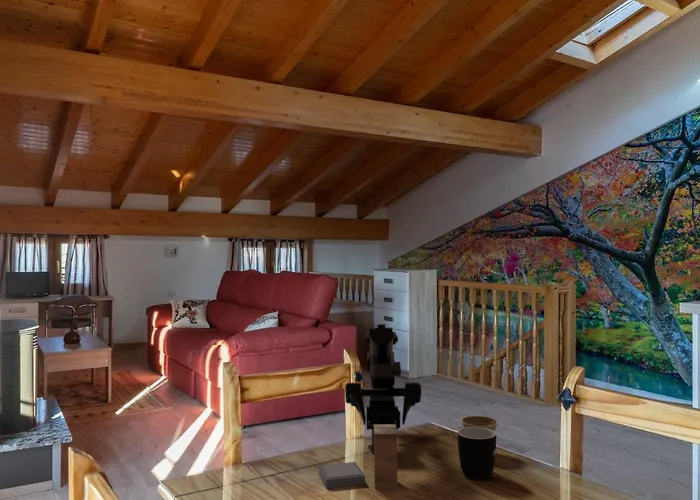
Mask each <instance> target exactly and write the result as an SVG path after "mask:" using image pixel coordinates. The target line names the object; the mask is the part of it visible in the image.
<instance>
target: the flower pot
mask: <svg viewBox="0 0 700 500" xmlns="http://www.w3.org/2000/svg"><path fill="white" fill-rule="evenodd" d="M461 423H462V427H463V428H467V427H480V428H486V429H490V430H492V431H494V432H495V433H496V429H497V426H498V424H499V421H498V420H497V419H495V418H493V417H490V416H482V415H468V416H465V417H462V418H461Z"/></svg>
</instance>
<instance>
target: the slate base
mask: <svg viewBox="0 0 700 500" xmlns="http://www.w3.org/2000/svg"><path fill="white" fill-rule="evenodd" d="M318 475H319V477H320V480H322V483H323V485H324V487H325V488H326V489H335V488H336V489H337V488H346V487H354V486H355V487H356V486H362V485H366V474H364V472H363V471H362V469H361V468H360V467H359V465H358V464H357V463H356V461H350V462H339V463H331V464H319V465H318Z"/></svg>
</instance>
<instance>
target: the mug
mask: <svg viewBox="0 0 700 500" xmlns="http://www.w3.org/2000/svg"><path fill="white" fill-rule="evenodd" d="M456 434H457V449H458V450H457V451H458V458H459V463H460V464H459V465H460V468H461V472H462V474H463V476H464V477H465V478H466V479H469V480H472V481H487V480H489V479H491V478H492V475H493V473H494V470H495V464H496V455H497V454H496V453H497V433H496V431H495V432H494V431H492V430H490V429H486V428H480V427H467V428H464V427H463V428H460V429H458V431H457V433H456Z"/></svg>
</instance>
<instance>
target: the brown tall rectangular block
mask: <svg viewBox="0 0 700 500" xmlns="http://www.w3.org/2000/svg"><path fill="white" fill-rule="evenodd" d="M373 455H374V457H373V459H374V461H373V462H374V463H373V465H374V467H373V468H374V469H373V470H374V489H375V490H383V489H384V490H398V430H397V428H396V424H385V425H374V454H373Z"/></svg>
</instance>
